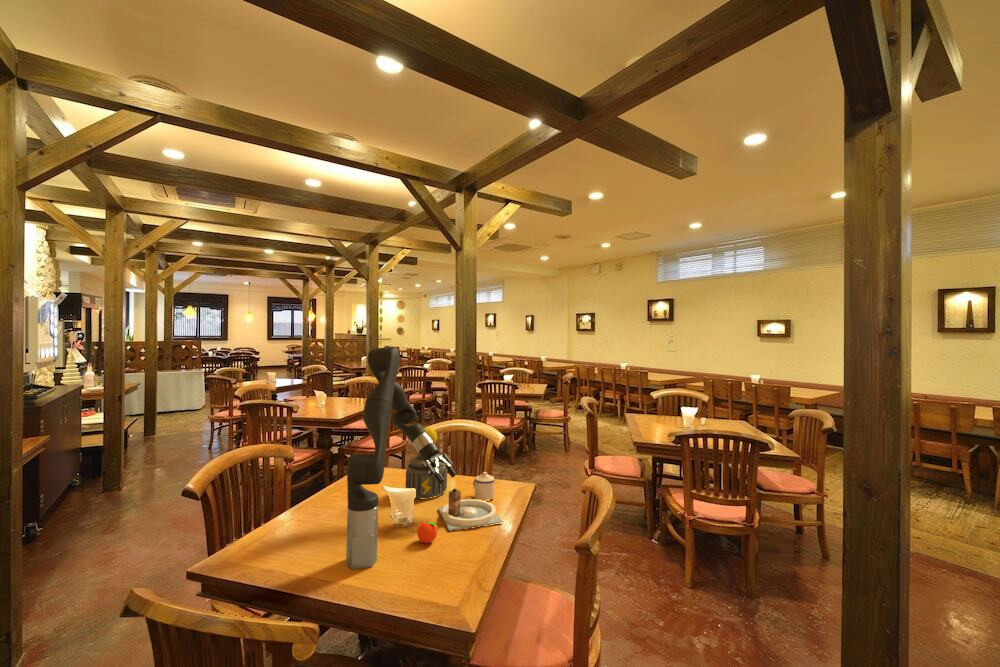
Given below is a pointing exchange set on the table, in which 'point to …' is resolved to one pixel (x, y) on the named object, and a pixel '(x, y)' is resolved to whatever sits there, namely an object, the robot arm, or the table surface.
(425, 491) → the decorative lamp
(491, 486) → the teacup with lid
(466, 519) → the groove dish
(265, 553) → the table surface
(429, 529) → the clementine
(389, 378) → the robot arm
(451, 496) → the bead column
